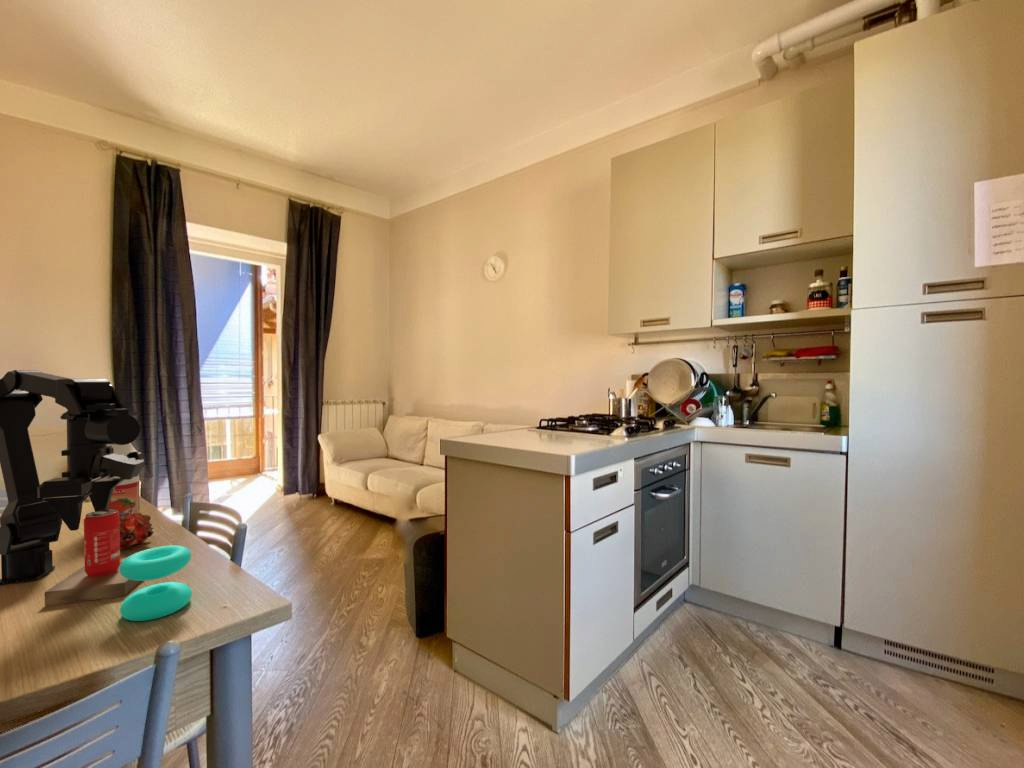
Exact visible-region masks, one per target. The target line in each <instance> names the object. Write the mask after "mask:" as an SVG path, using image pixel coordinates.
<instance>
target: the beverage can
mask: <svg viewBox="0 0 1024 768" xmlns="http://www.w3.org/2000/svg"><path fill="white" fill-rule="evenodd" d="M117 511H118V510H116V509H108V510H100V511H95V510H94V511H91V512H88V513H86V514H85V518H84V519H83V540H84V541H83V547H84V549H83V551H84V554H83V555H84V566H85V572H86V574H87V575H88V577H89V578H98V577H103V576H107V575H110V574H113V573H115V572H117V570H118V567H119V565H120V562H121V549H120V530H119V513H118V512H117Z"/></svg>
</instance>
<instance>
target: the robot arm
mask: <svg viewBox="0 0 1024 768" xmlns="http://www.w3.org/2000/svg"><path fill="white" fill-rule="evenodd" d="M43 396H45V397H49V398H53V399H55V400H54V403H55V404H56V405H59V406H61V407H62V408H65V409H66V410H67V411H65V412H63V413H62V415H60V419H61V420H66V449H62V450H60V451H61V454H60V456H61V457H66V458H67V459H66V465H67V466H66V468H67V469H66V470H65V471H62V472H61V477H54V478H51V479H48V480H44V481H43V482H42V483H40V479H39V474H38V471H37V465H36V461H35V455H34V452H33V446H32V443H31V438H30V434H29V427H30V425H32V422H33V421H34V419H35V417H36V408H37V407H38V405H39V404H41V402H43V399H44V398H43ZM124 405H125V404H124V402H123V401H122V400H121V398H120V397H119V395H118V394H117V391H116V389H115V388H114V386H113V385H112V384H111V381H109V380H108V379H107V378H70V377H69V378H68V377H65V376H61V375H54V374H49V373H47V372H46V373H45V372H43V371H39V370H36V369H34V370H32V369H31V370H29V369H26V370H25V369H24V370H22V369H20V370H19V369H14V370H10V371H7V372H6V373H5V374H4V376H2V378H0V469H1V473H2V478H3V482H4V487H5V488H4V489H5V493H6V497H7V505H5V508H4V510H3V512H2V513H1V515H0V563H1V564H0V565H1V566H0V567H1V569H0V570H1V572H0V573H1V578H0V585H4V584H12V583H21V582H31V581H37V580H38V579H40V578H41V577H43V576H44V575H46V574H48V573H50V572H51V571H53V570H54V569H55V568H56V566H55V565H53V550H52V549H50V543H54V542H55V543H56V542H58V541H59V537H60V533H61V528H62V525H63V523H64V524H65V526H66V527H67V528H68V529H69V530H70V531H71V532H72V531H78V530H79V529H80V525H81V524H80V523H81V519H82V510H83V505H84V504H83V503H84V501H86V499H87V498H88V497H89V499H90V502H91V505H92V507H93V510H94V512H95V511H100V510H107V507H108V504H109V501H110V498H111V495H112V493H113V490H114V488H115V487H116V486H117V485H118V484H119V483H121V482H122V481H124V480H125V479H126V480H130V479H132V478H133V477H137V476H138V474H139V475H140V472H141V469H142V468H144V467H145V465H146V463H145V461H146V459H144V456H143V453H142V452H140V451H138V450H136V451H133V452H130V453H129V454H128V455H126V456H125V455H124V454H122V455H118V454H114V449H113V447H112V446H107V444H114V445H126V444H129V443H131V444H132V443H133V442H134V441H135V440H136V439H137V438H138V437H139V435H140V433H141V425H140V424H139V421H138V420H137V419H136V418H135V417H134V416H132V415H130V414H129V409H128V408H125V407H124ZM117 477H119V478H117Z"/></svg>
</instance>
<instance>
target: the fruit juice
mask: <svg viewBox="0 0 1024 768" xmlns="http://www.w3.org/2000/svg"><path fill="white" fill-rule="evenodd" d="M107 446H112V447H113V449H114V454H118V455H122V454H124V455H125V456H126V455H128V454H129V453H130V452H133V451H137V449H136V448H135V447H134V446H133V444H132V442H131V443H129V444H126V445H114V444H107ZM117 478H119V477H117ZM140 497H141V496H140V473H139V474H138V476H137V477H133V478H132V479H130V480H126V479H125V480H124V481H122V482H121V483H119V484H118V485H117V486H116V487H115V488H114V490H113V493H112V495H111V498H110V501H109V504H108V507H107V510H108V509H116V510H118V511H117V512H118V513H119V518H121V517H122V515H123V514H125V513H130V514H132V513H135V512H140V513H141V509H140V508H141V501H140V500H141V499H140Z"/></svg>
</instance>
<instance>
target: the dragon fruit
mask: <svg viewBox="0 0 1024 768" xmlns="http://www.w3.org/2000/svg"><path fill="white" fill-rule="evenodd" d="M150 520H151V516H150V515H149V514H143V513H142V512H141V511H140V512H135V513H132V514H130V513H125V514H123V515H122V517H121V518H119V530H120V550H126V549H129V548H131V547H132V546H133V545H135V546H136V545H141V544H143V543H145V541H146V540H148V538H150V537H152V535H153V534H154V530H153V529H154V527H153V524H152V523H151V522H150Z"/></svg>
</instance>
